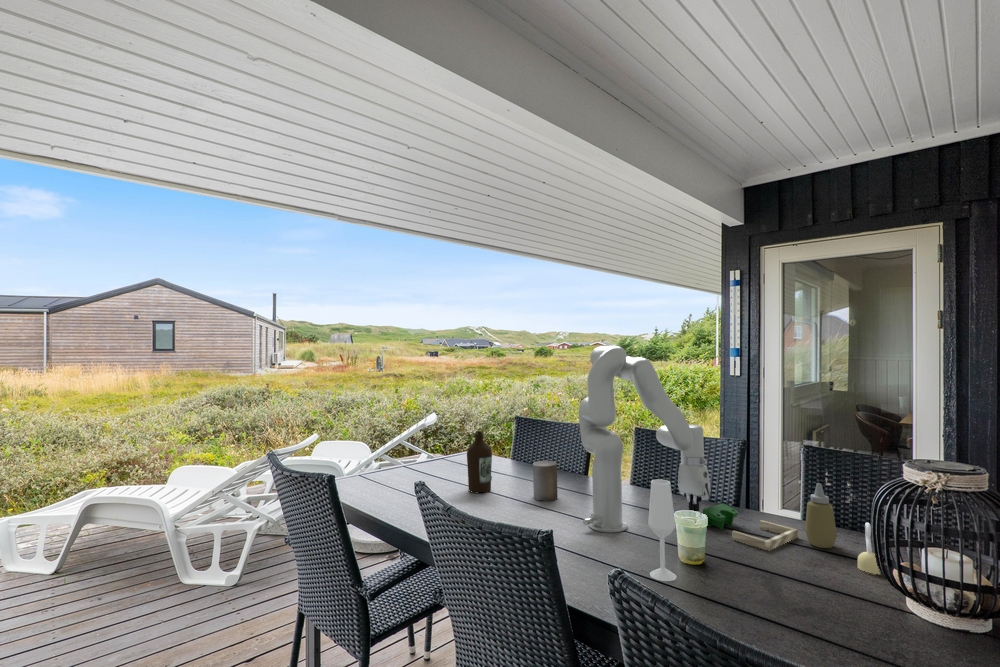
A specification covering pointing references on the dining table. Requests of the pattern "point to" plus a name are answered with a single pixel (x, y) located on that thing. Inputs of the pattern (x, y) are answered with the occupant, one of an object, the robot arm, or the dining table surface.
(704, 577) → the dining table surface
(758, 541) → the keeper bracket
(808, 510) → the squeeze bottle
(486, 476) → the olive oil
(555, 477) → the pillar candle
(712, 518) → the clamp
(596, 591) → the dining table surface
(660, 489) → the champagne flute
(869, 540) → the pale yellow handled piece
